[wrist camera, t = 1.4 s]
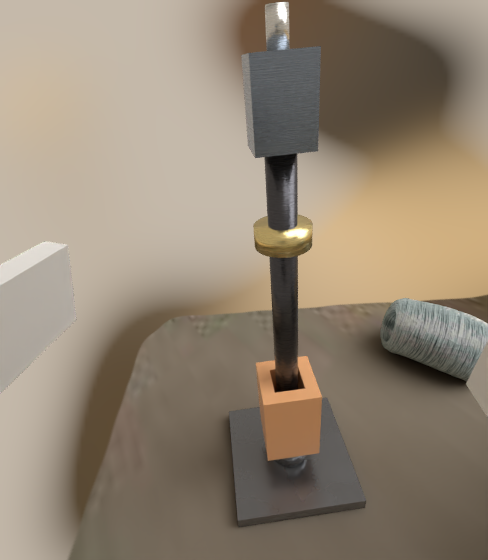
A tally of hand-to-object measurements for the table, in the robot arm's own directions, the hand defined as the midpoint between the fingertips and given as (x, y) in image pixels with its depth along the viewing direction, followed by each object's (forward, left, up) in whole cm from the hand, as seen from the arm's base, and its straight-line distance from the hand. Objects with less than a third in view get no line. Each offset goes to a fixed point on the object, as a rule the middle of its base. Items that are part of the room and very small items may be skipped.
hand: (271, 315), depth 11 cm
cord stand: (-3, -13, -30) cm, 33 cm away
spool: (-25, -25, -30) cm, 46 cm away
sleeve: (-3, -14, -26) cm, 29 cm away
